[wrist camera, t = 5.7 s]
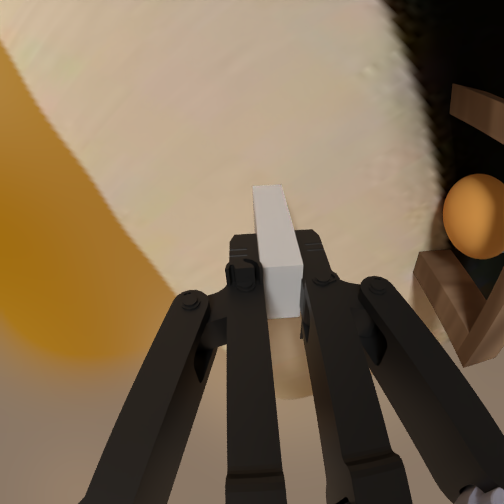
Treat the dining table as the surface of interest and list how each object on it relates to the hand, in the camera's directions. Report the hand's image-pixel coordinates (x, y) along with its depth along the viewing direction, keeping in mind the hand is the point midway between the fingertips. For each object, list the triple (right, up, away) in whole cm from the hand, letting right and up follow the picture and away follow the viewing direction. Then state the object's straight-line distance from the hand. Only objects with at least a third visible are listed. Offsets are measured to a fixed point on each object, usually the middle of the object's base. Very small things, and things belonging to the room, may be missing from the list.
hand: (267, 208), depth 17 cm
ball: (+14, 0, 0) cm, 14 cm away
